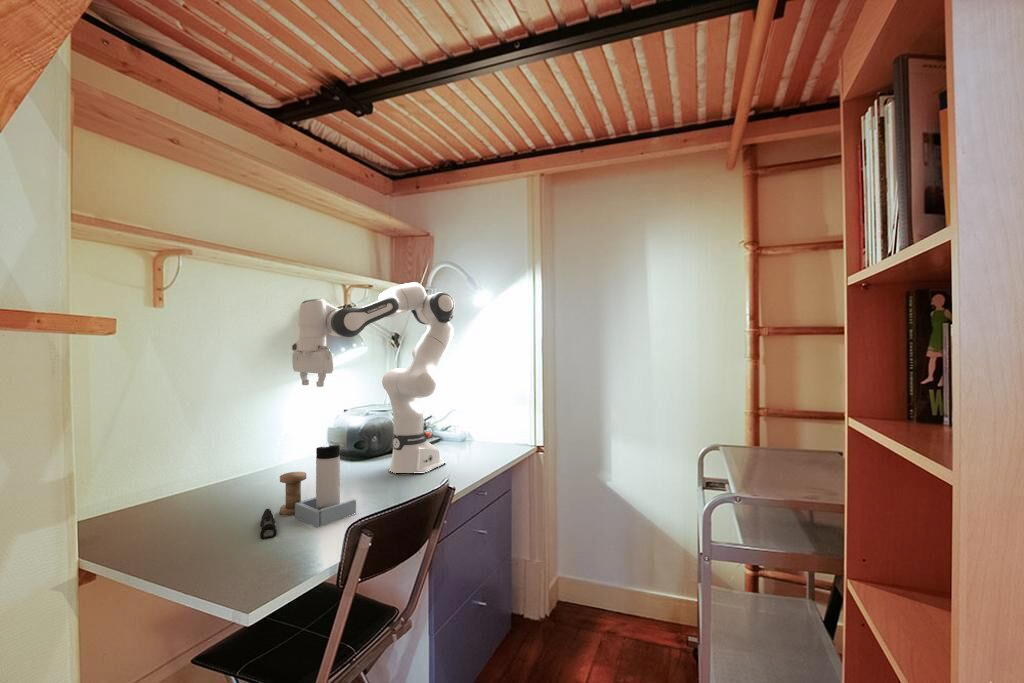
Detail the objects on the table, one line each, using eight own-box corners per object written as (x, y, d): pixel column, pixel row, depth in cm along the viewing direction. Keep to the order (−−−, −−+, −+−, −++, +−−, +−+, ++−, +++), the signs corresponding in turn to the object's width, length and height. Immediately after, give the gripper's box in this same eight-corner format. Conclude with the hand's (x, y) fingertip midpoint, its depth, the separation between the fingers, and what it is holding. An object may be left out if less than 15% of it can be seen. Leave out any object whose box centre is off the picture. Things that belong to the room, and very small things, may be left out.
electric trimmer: (275, 517, 126) (275, 506, 126) (277, 538, 113) (277, 525, 113) (260, 520, 124) (260, 509, 124) (259, 541, 111) (260, 528, 111)
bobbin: (298, 504, 135) (298, 470, 135) (311, 509, 131) (311, 474, 131) (275, 511, 129) (275, 475, 129) (287, 517, 125) (287, 480, 125)
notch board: (333, 505, 135) (333, 491, 135) (355, 513, 128) (356, 499, 128) (295, 517, 125) (295, 503, 125) (317, 527, 118) (317, 512, 118)
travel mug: (319, 521, 123) (319, 448, 123) (313, 513, 128) (313, 444, 128) (342, 516, 126) (342, 445, 126) (336, 509, 132) (336, 441, 132)
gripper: (338, 345, 150) (338, 387, 150) (306, 345, 162) (306, 383, 162) (320, 346, 145) (320, 388, 145) (288, 345, 157) (288, 384, 157)
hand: (312, 385), depth 154 cm, fingers open, 8 cm apart
